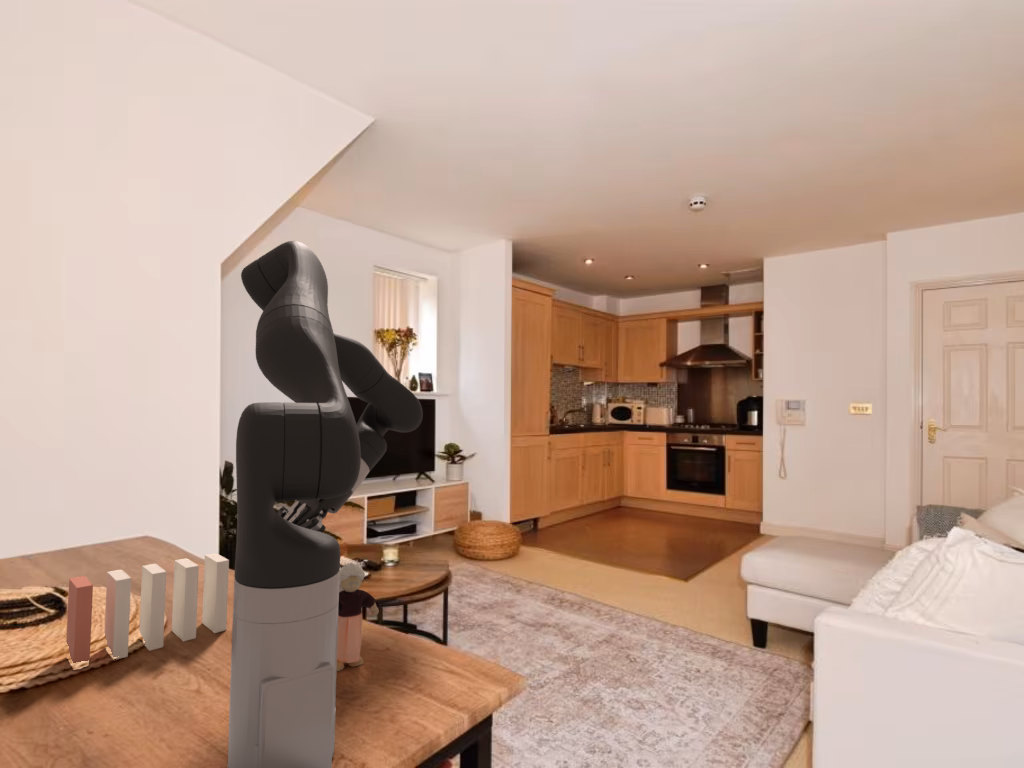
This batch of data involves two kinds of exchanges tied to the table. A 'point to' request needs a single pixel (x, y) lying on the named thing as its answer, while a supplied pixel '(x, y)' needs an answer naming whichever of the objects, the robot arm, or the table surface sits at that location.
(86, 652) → the domino
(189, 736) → the table surface
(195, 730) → the table surface
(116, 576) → the domino
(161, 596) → the domino
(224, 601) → the domino
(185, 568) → the domino
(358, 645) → the grandmother figurine
